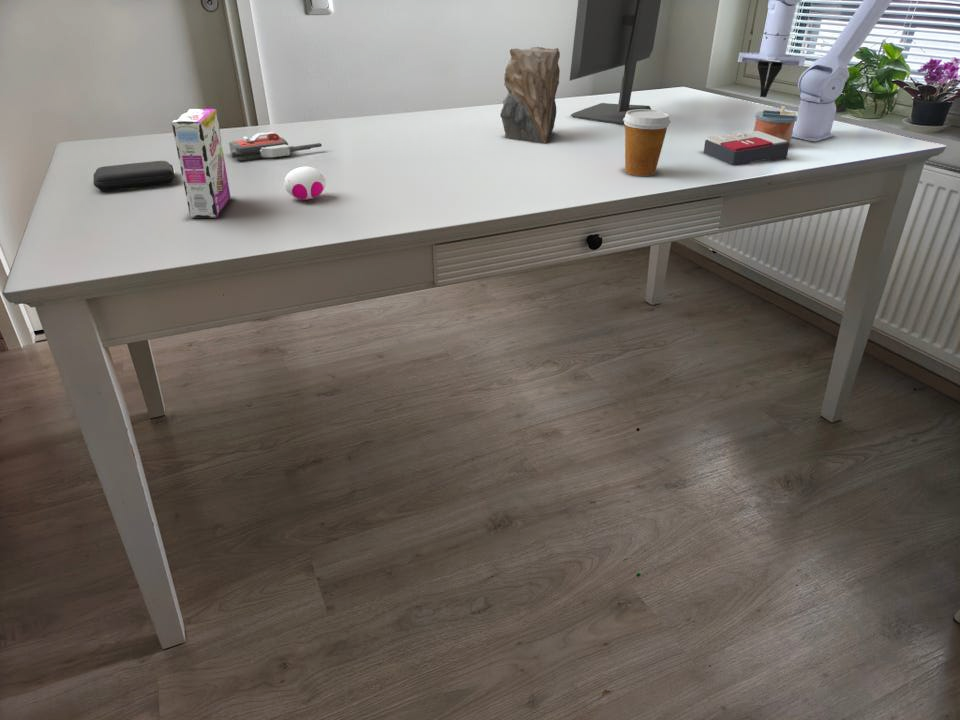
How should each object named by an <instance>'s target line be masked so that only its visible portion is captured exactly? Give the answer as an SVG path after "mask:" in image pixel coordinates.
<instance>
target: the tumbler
mask: <svg viewBox="0 0 960 720" xmlns="http://www.w3.org/2000/svg"><path fill="white" fill-rule="evenodd" d="M788 112H789V113H795V112H792V111H788ZM780 113H781V110H769V109H768V110H767V109H763V110H760V111H757V112H755V116H754V117H755V121H754V126H753V131H760V132H763V133H766V134H769V135H771V136H774V137H777V138H780V139H783V140H786V141H787V142H789V143H790V144H791V142H792V138H793V137H792V133H793V131H794V127H795V123H796V121H797V115H796V114H795V116H791V115H780ZM790 144H789V146H791V145H790Z"/></svg>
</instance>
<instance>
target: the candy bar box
mask: <svg viewBox="0 0 960 720" xmlns="http://www.w3.org/2000/svg"><path fill="white" fill-rule="evenodd" d="M171 126H172V131H173V137H174V142H175V146H176V151H177V157H178V162H179V168H180V171H181V177H182V182H183V187H184V193H185V198H186V202H187V207H188V213H189V218H192V219H199V218H200V219H204V218H205V219H209V218H210V219H214V218H218V217H219V215H220V214H221V212H222V211H223V209H224V208H225V206H226V205H227V203H228V202H229V201H230V199H231V192H230V191H231V190H230V186H229V185H230V184H229V179H228V174H227V167H226V160H225V155H224V150H223V143H222V142H223V141H222V137H221V131H220V124H219V118H218V112H217V109H216V108H189V109H188V110H186V111H185V112H184V113H182V114H181V115H180V116H178V117H176V118H175V119H173V121H171Z"/></svg>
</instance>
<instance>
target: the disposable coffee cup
mask: <svg viewBox="0 0 960 720" xmlns="http://www.w3.org/2000/svg"><path fill="white" fill-rule="evenodd" d="M623 120H624V151H625V152H624V155H625V156H624V168H625V169H624V170H625V171H624V172H625V173H626V174H628V175H630V176H631V175H632V176H636V177H649V176H653V175H656V172H657V167H658V163H659V159H660V156H661V153H662V150H663V145H664V142H665V138H666V134H667V130H668V127H669V126H670V124H671V119H670V114H669V113H668V112H666V111H664V110H663V111H662V110H659V109H658V110H657V109H651V110H649V109H636V110H630V111H627V112H626V115H625V117H624V118H623Z"/></svg>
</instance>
